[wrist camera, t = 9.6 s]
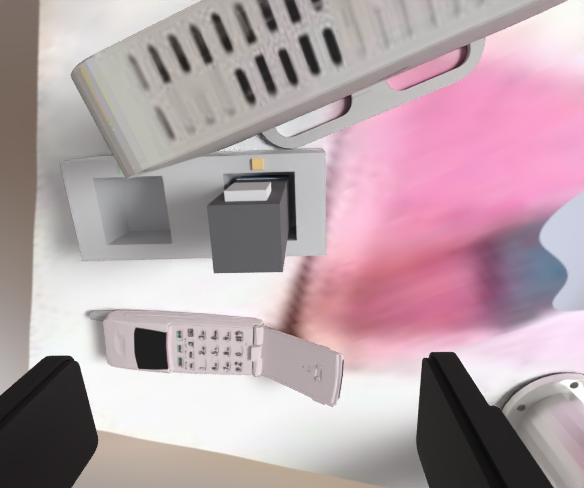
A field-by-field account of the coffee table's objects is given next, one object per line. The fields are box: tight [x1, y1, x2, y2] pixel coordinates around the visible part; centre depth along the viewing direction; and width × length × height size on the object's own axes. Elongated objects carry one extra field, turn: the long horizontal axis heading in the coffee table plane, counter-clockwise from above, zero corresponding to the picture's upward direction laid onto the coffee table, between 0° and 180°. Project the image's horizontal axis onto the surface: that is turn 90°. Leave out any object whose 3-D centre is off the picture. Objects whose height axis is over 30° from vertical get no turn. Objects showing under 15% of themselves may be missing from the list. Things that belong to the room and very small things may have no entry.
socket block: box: [60, 148, 326, 261], centre depth 30 cm, size 8×20×5 cm, turn 92°
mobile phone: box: [89, 310, 344, 407], centre depth 35 cm, size 6×6×25 cm
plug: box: [207, 174, 290, 273], centre depth 26 cm, size 5×4×12 cm
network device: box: [71, 0, 567, 179], centre depth 20 cm, size 26×9×20 cm, turn 112°
